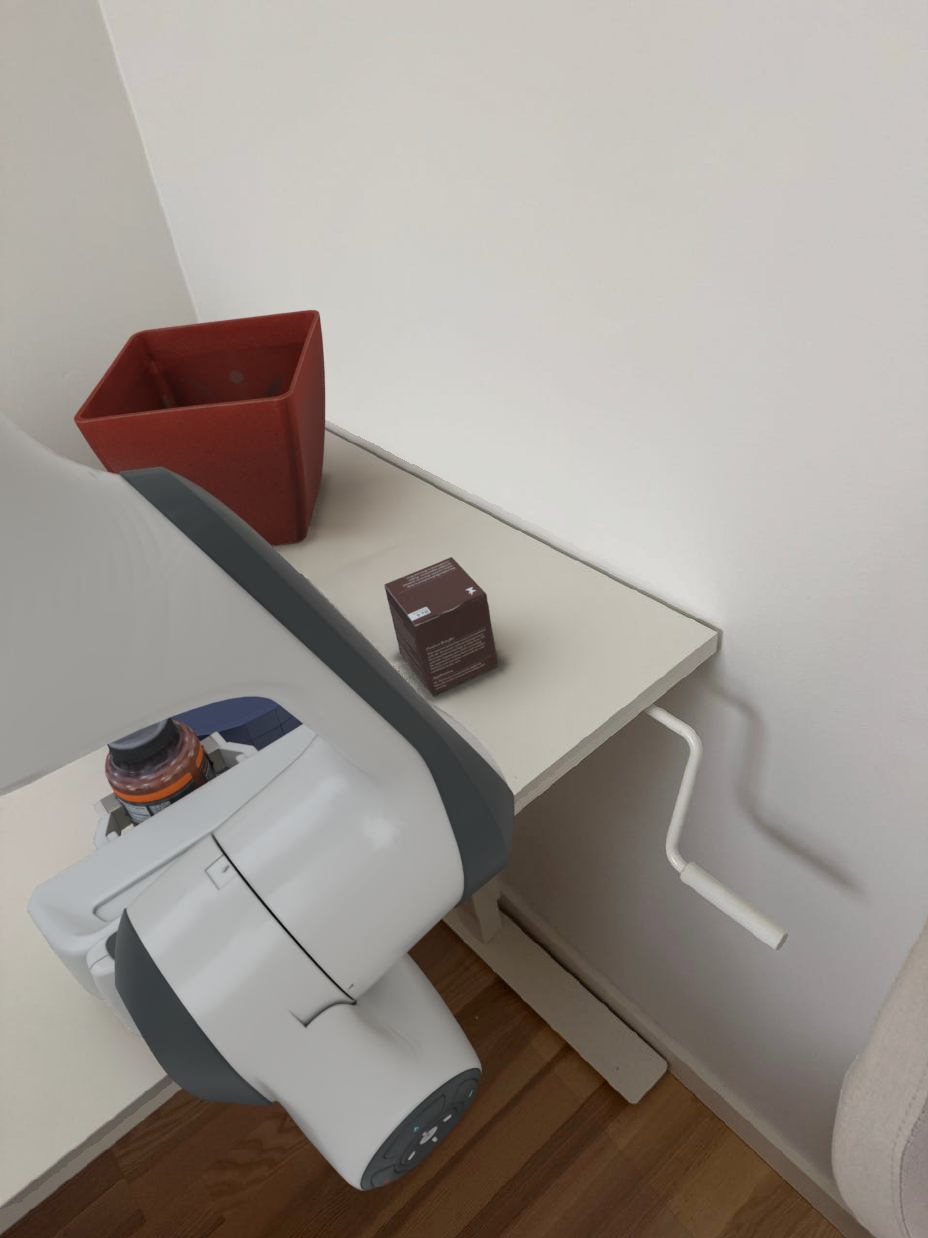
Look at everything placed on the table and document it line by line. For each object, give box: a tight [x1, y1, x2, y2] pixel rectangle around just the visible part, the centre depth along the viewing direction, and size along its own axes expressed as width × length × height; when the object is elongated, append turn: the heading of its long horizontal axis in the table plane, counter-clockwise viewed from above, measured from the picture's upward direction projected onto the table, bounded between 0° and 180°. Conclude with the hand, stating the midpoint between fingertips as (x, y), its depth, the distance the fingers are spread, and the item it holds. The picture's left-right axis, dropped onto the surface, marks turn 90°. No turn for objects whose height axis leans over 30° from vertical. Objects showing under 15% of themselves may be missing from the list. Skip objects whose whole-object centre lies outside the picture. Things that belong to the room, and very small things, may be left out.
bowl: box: [170, 696, 303, 774], centre depth 75 cm, size 18×18×4 cm
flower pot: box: [73, 309, 326, 546], centre depth 92 cm, size 19×19×17 cm
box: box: [384, 556, 499, 696], centre depth 73 cm, size 6×6×7 cm
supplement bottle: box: [104, 718, 217, 828], centre depth 61 cm, size 6×6×11 cm
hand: (158, 773), depth 62 cm, fingers closed on supplement bottle, 6 cm apart
